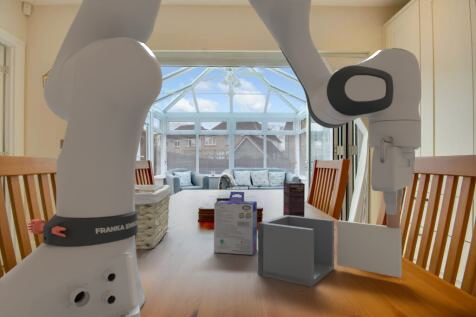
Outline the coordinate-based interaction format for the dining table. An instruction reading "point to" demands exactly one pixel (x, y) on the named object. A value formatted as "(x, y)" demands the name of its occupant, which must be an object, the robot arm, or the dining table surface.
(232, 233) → the ink cartridge box
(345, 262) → the flap
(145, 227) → the storage basket
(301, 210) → the supplement box
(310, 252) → the grey open box
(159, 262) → the dining table surface
